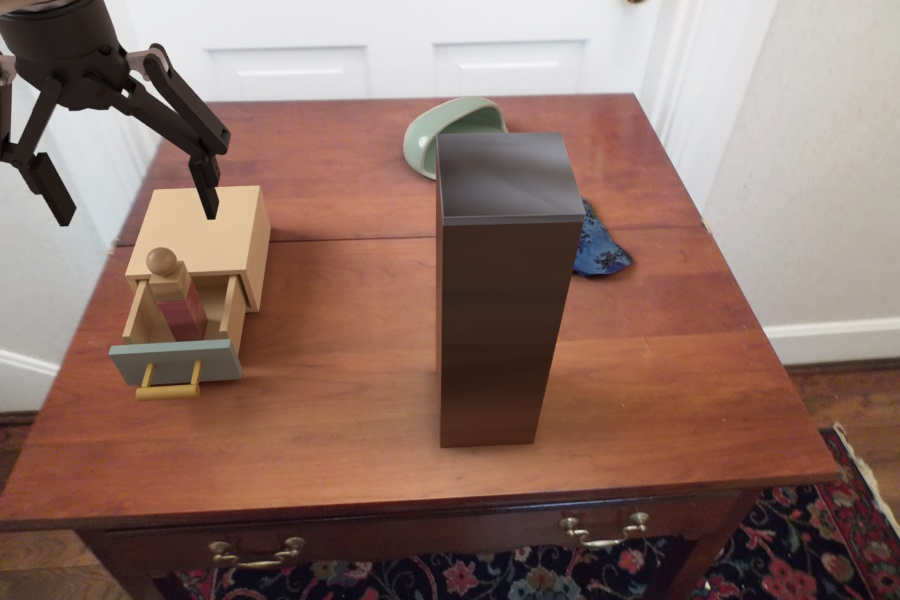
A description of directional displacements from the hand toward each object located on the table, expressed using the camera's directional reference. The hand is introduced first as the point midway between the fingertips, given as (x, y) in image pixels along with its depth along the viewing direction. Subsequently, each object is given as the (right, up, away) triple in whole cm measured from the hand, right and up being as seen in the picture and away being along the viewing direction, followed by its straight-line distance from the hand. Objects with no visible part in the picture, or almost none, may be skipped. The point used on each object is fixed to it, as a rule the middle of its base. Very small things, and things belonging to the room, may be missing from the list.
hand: (141, 214), depth 62 cm
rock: (+46, 0, +28) cm, 54 cm away
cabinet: (-1, -4, +23) cm, 23 cm away
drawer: (0, -14, +13) cm, 19 cm away
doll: (0, -12, +13) cm, 18 cm away
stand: (+33, -20, +9) cm, 40 cm away
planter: (+31, +16, +42) cm, 54 cm away
